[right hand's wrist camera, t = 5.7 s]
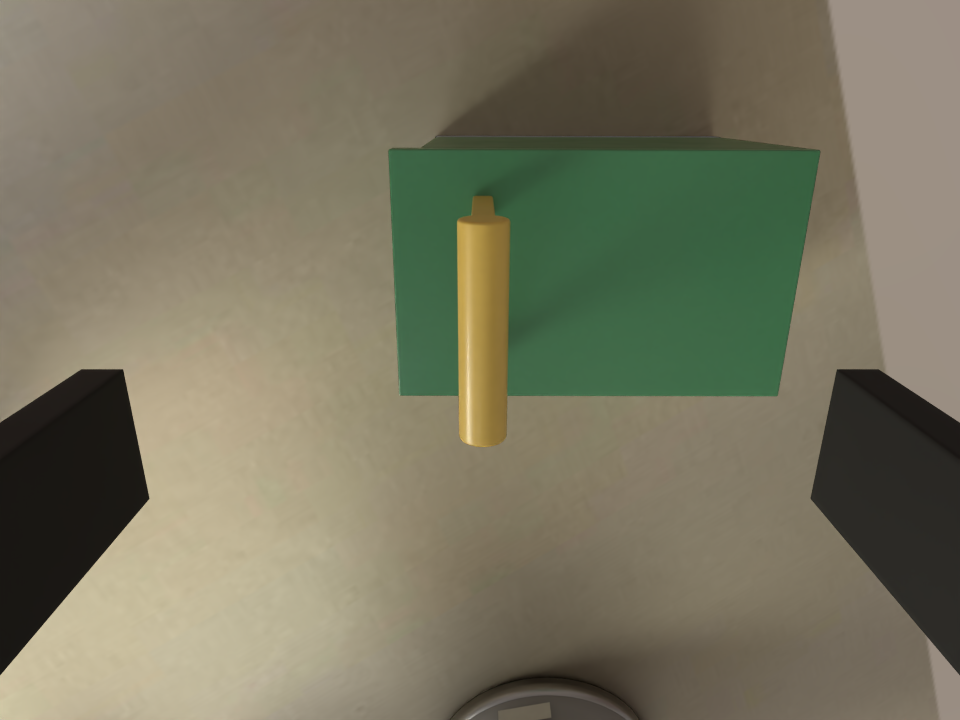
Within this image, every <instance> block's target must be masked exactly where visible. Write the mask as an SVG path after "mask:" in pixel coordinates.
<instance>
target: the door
mask: <svg viewBox="0 0 960 720" xmlns="http://www.w3.org/2000/svg"><path fill="white" fill-rule="evenodd" d="M388 153H389V176H390V198H391V221H392V243H393V265H394V288H395V310H396V333H397V355H398V378H399V394H400V395H413V396H459V436H460V438H461V440H462V441H463V442H464V443H466V444H469V445H472V446H477V447H489V446H494V445H497V444H500V443H501V442H503V441H504V440H505V438H506V434H507V396H778V391H779V385H780V380H781V374H782V368H783V363H784V357H785V351H786V345H787V340H788V334H789V328H790V323H791V317H792V311H793V305H794V300H795V294H796V288H797V283H798V277H799V271H800V265H801V260H802V254H803V248H804V243H805V237H806V231H807V225H808V220H809V214H810V208H811V203H812V197H813V191H814V185H815V180H816V174H817V168H818V163H819V157H820V150H815V149H701V148H391V149H389V151H388Z"/></svg>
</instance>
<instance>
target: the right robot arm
mask: <svg viewBox="0 0 960 720" xmlns="http://www.w3.org/2000/svg"><path fill="white" fill-rule="evenodd" d="M148 500H149V494H148V489H147V484H146V480H145V475H144V470H143V465H142V460H141V455H140V450H139V445H138V440H137V435H136V431H135V426H134V421H133V416H132V411H131V406H130V401H129V396H128V391H127V386H126V382H125V377H124V372H123V369H81V370H80V371H78V372H77V373H75V374H74V375H72V376H71V377H69V378H68V379H66V380H65V381H63V382H62V383H60V384H58V385H57V386H55V387H54V388H52V389H51V390H49V391H48V392H46V393H45V394H43V395H42V396H40V397H39V398H37V399H36V400H34V401H33V402H31V403H30V404H28V405H27V406H25V407H23V408H22V409H20V410H19V411H17V412H16V413H14V414H13V415H11V416H10V417H8V418H7V419H5V420H4V421H2V422H1V423H0V675H1V674H2V672H3V671H4V670H5V669H6V668H7V667H8V665H9V664H10V663H11V662H12V661H13V659H14V658H15V657H16V656H17V655H18V654H19V652H20V651H21V650H22V649H23V648H24V646H25V645H26V644H27V643H28V642H29V640H30V639H31V638H32V637H33V636H34V635H35V633H36V632H37V631H38V630H39V629H40V627H41V626H42V625H43V624H44V623H45V622H46V620H47V619H48V618H49V617H50V616H51V614H52V613H53V612H54V611H55V610H56V609H57V607H58V606H59V605H60V604H61V603H62V601H63V600H64V599H65V598H66V597H67V596H68V594H69V593H70V592H71V591H72V590H73V588H74V587H75V586H76V585H77V584H78V583H79V581H80V580H81V579H82V578H83V577H84V575H85V574H86V573H87V572H88V571H89V570H90V568H91V567H92V566H93V565H94V564H95V562H96V561H97V560H98V559H99V558H100V557H101V555H102V554H103V553H104V552H105V551H106V549H107V548H108V547H109V546H110V545H111V543H112V542H113V541H114V540H115V539H116V538H117V536H118V535H119V534H120V533H121V532H122V530H123V529H124V528H125V527H126V526H127V525H128V523H129V522H130V521H131V520H132V519H133V517H134V516H135V515H136V514H137V513H138V512H139V510H140V509H141V508H142V507H143V506H144V504H145V503H146V502H147V501H148ZM811 500H812V501H813V502H814V503H815V504H816V506H817V507H818V508H819V509H820V510H821V512H822V513H823V514H824V515H825V516H826V517H827V519H828V520H829V521H830V522H831V523H832V525H833V526H834V527H835V528H836V529H837V530H838V532H839V533H840V534H841V535H842V536H843V538H844V539H845V540H846V541H847V542H848V543H849V545H850V546H851V547H852V548H853V549H854V551H855V552H856V553H857V554H858V555H859V557H860V558H861V559H862V560H863V561H864V562H865V564H866V565H867V566H868V567H869V568H870V570H871V571H872V572H873V573H874V574H875V575H876V577H877V578H878V579H879V580H880V581H881V583H882V584H883V585H884V586H885V587H886V588H887V590H888V591H889V592H890V593H891V594H892V596H893V597H894V598H895V599H896V600H897V601H898V603H899V604H900V605H901V606H902V607H903V609H904V610H905V611H906V612H907V613H908V614H909V616H910V617H911V618H912V619H913V620H914V622H915V623H916V624H917V625H918V626H919V627H920V629H921V630H922V631H923V632H924V633H925V635H926V636H927V637H928V638H929V639H930V640H931V642H932V643H933V644H934V645H935V646H936V648H937V649H938V650H939V651H940V652H941V654H942V655H943V656H944V657H945V658H946V659H947V661H948V662H949V663H950V664H951V665H952V667H953V668H954V669H955V670H956V671H957V672H958V674H959V675H960V423H959V422H958V421H956V420H955V419H953V418H952V417H950V416H949V415H947V414H946V413H944V412H943V411H941V410H940V409H938V408H936V407H935V406H933V405H932V404H930V403H929V402H927V401H926V400H924V399H923V398H921V397H920V396H918V395H917V394H915V393H914V392H912V391H911V390H909V389H908V388H906V387H904V386H903V385H901V384H900V383H898V382H897V381H895V380H894V379H892V378H891V377H889V376H888V375H886V374H885V373H883V372H882V371H880V370H879V369H837V372H836V377H835V382H834V386H833V391H832V396H831V401H830V406H829V411H828V416H827V421H826V426H825V431H824V435H823V440H822V445H821V450H820V455H819V460H818V465H817V470H816V475H815V480H814V484H813V489H812V494H811Z"/></svg>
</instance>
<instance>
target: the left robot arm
mask: <svg viewBox="0 0 960 720" xmlns="http://www.w3.org/2000/svg"><path fill="white" fill-rule="evenodd" d="M451 720H639V719H638V717H637V716H636V714H635V713H634V712H633V711H632V710H631V709H630V708H629V707H628V706H627V705H626V704H625V703H624V702H622V701H621V700H620V699H618V698H617V697H616V696H614V695H612V694H610V693H609V692H607V691H605V690H603V689H601V688H598V687H596V686H593V685H590V684H587V683H583V682H580V681H575V680H570V679H562V678H532V679H524V680H519V681H514V682H510V683H506V684H503V685H500V686H498V687H495V688H492V689H490V690H488V691H486V692H484V693H482V694H480V695H478V696H477V697H475V698H474V699H472V700H471V701H469V702H468V703H467V704H465V705H464V706H463V707H462V708H461V709H460V710H459V711H458V712H457V713H456V714H455V715H454V716H453V717H452V719H451Z"/></svg>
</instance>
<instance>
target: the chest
mask: <svg viewBox="0 0 960 720" xmlns="http://www.w3.org/2000/svg"><path fill="white" fill-rule="evenodd" d="M421 148H701V149H806V148H799V147H791V146H783V145H775V144H767V143H759V142H751V141H743V140H735V139H727V138H721V137H714V136H436V137H435V138H434V139H433V140H432V141H430V142H429V143H427V144H426V145H424V146H423V147H421Z"/></svg>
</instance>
